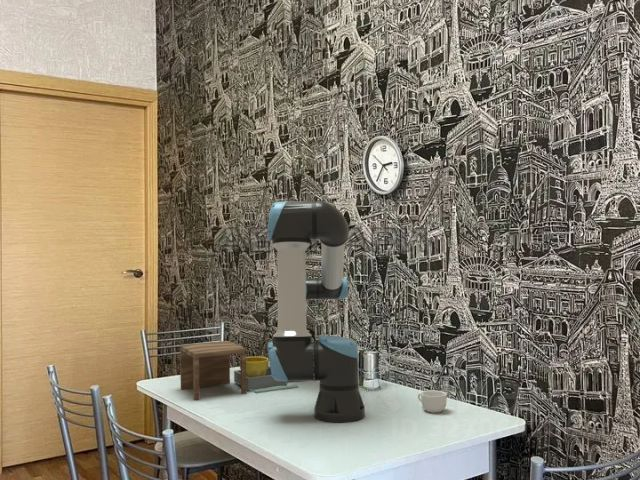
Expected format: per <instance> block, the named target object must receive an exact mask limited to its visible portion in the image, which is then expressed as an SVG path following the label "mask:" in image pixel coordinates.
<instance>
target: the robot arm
mask: <svg viewBox="0 0 640 480" xmlns="http://www.w3.org/2000/svg"><path fill="white" fill-rule="evenodd" d="M349 229H350V228H349V225H348V221H347V219H346V218H345V216H344V215H343V213H342V212H341V211H340V210H339V209H338V208H337V207H336V206H334V205H333V204H331V203H329V202H327V201H324V200H322V201H321V200H315V201H313V200H301V201H300V200H286V201H275V202H274V203H273V204H272V205H271V206H270V210H269V215H268V224H267V237H266V238H267V239H268V241H269V240H270V241H271V242H272V244H271V245H272V247H274V249H275V250H276V251H277V252H276V253H277V330H276V332H275V333H274V334H273V335H272V341H269V342H268V343H267V348H268V349H267V350H268V359H269V362H270V368H271V373H272V376H273V378H274V379H275V380H276V381H287V383H290V382H316V381H317V382H319V389H318V395H317V398H316V401H315V404H314V408H313V417H315V419H317V420H319V421H323V422H328V423H349V422H355V421H358V420H362V419H363V418H364V417H365V416H366V408H365V405H364V402H363V398H362V396H361V392H360V388H359V387H360V386H359V358H360V356H359V347H358V344H357V342H356V341H355V340H354V339H352V338H349V337H345V336H338V335H320V336H319V337H318V340H315V341H314V340H312V334H311V333H310V332H309V331H308V329H307V324H308V314H307V312H308V306H309V304H308V301H309V300H311V301H313V300H315V301H317V300H336V301H337V300H345V299H347V297H348V296H349V285H348V283H349V281H348V279H347V278H345V277H344V269H345V267H344V265H345V246H346V245H345V244H346V243H347V242H348V239H349V234H350V233H349V232H350V231H349ZM317 239H318V240H319V242H320V243H321V251H320V252H321V255H320V256H321V257H320V260H321V265H320V266H321V269H320V271H321V272H320V273H321V276H320V277H321V278H320V277H319V278H308V277H307V272H306V271H307V269H306V264H307V263H306V262H307V261H306V257H307V256H306V251H307V249H308V248H309V247H310V246H311V240H317Z"/></svg>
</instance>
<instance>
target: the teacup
mask: <svg viewBox="0 0 640 480" xmlns="http://www.w3.org/2000/svg"><path fill="white" fill-rule="evenodd" d="M447 398H448V393H447V392H445V391H442V390H433V389H432V390H431V389H429V390H422V391H421V392H420V393H419V394H418V396H417V399H418V401H419V402H420V403H421V405H422V408H423V409H424V411H425V412H427V413H430V412H431V414H440V413H442V412H443V411H444V410H445V409H446V407H447V403H448V402H447Z"/></svg>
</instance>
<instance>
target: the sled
mask: <svg viewBox="0 0 640 480" xmlns="http://www.w3.org/2000/svg"><path fill="white" fill-rule="evenodd" d="M233 381H234V383H236V384H237V385H239V386H241V369H237V370H234V371H233ZM282 386H288V382H287V381H276V380H275V379H274V378H273V376H272V373H271V368H270V367H268V369H267V370H266V375H265V376H260V377H252V378H249V377H247V376H246V387H247V391H251V390H252V391H254V390H260V389H267V388H275V387H282Z"/></svg>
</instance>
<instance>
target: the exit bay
mask: <svg viewBox="0 0 640 480" xmlns="http://www.w3.org/2000/svg"><path fill="white" fill-rule="evenodd" d="M297 388H299V385H298V384H291V385H283V386H275V387H268V388H260V389H253V393H255V394H261V393H268V392H274V391H275V392H277V391H281V390H282V391H283V390H289V389H290V390H292V389H297Z"/></svg>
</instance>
